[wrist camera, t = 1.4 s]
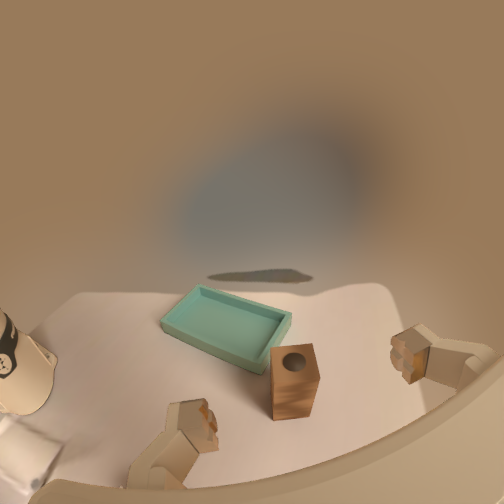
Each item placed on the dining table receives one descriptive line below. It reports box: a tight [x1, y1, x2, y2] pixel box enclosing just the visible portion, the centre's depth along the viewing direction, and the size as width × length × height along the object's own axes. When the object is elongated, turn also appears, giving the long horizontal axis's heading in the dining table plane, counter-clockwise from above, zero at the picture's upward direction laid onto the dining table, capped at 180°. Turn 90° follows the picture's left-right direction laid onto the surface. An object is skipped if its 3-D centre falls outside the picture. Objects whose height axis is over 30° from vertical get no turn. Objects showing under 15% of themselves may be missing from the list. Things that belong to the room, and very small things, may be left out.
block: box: [270, 343, 320, 421], centre depth 32 cm, size 5×5×11 cm
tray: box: [160, 284, 292, 375], centre depth 47 cm, size 20×12×3 cm, turn 62°
